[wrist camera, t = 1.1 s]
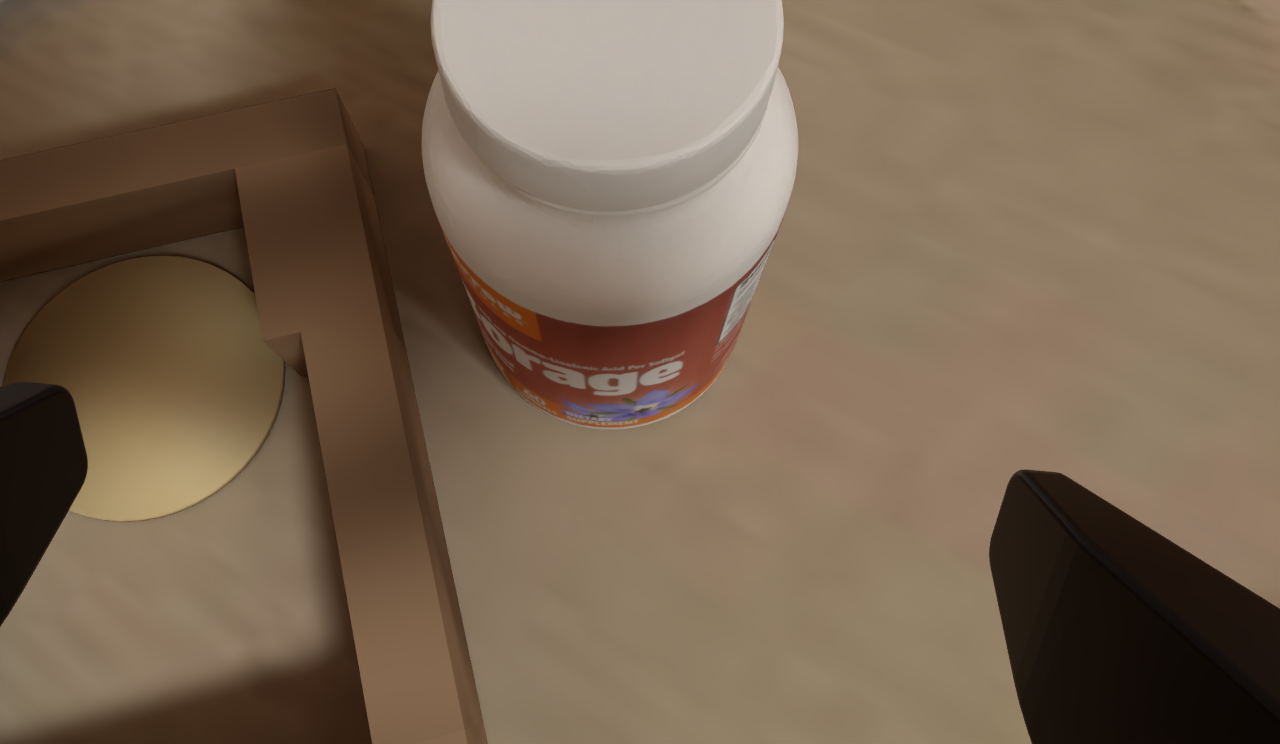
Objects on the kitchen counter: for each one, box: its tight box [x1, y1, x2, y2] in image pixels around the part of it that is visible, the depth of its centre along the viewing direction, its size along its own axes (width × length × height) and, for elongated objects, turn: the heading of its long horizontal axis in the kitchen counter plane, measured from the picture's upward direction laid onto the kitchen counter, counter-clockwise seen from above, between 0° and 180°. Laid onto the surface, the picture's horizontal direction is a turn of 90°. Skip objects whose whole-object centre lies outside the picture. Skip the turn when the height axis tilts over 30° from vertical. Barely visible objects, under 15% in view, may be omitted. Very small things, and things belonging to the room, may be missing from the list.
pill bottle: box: [422, 0, 798, 430], centre depth 18 cm, size 6×6×11 cm
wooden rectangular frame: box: [0, 88, 488, 744], centre depth 19 cm, size 20×12×2 cm, turn 15°
